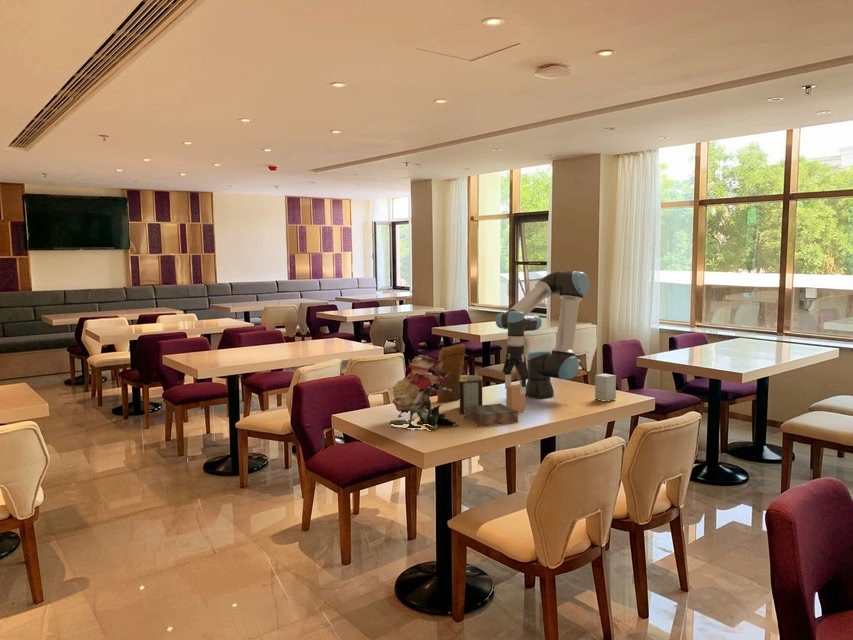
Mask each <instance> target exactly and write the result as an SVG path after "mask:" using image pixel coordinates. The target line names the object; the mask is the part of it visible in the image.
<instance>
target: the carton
mask: <svg viewBox="0 0 853 640" xmlns="http://www.w3.org/2000/svg"><path fill="white" fill-rule="evenodd" d="M505 390H506V393H505V394H506V400H505V401H506V404H505V406H507V407H510V408H512V409H514V410H517V411H518V412H521V413H525V412H526V396H525V394H520V383H519V384H511V385H507V386H506V389H505ZM524 411H525V412H524Z"/></svg>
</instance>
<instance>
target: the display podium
mask: <svg viewBox="0 0 853 640" xmlns="http://www.w3.org/2000/svg"><path fill="white" fill-rule="evenodd" d="M463 415H464V417H463V419H465V420H466V421H468V420H469V421H468V422H470V421H471V423H472V422H473V423H472V424H474V423H475V424H474V425H476V424H477V425H476V426H478V427H479V426H483V427H490V426H489V425H492V426H498V425H497V424H500V425H507V424H506V423H509V424H513V423H512V422H518V423H519V413H518V411H517V410H514V409H512V408H510V407H507V406H506V404H502V403H493V404H492V403H491V404H482V405H481V406H471V407H464V414H463Z"/></svg>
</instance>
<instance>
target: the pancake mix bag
mask: <svg viewBox="0 0 853 640" xmlns="http://www.w3.org/2000/svg"><path fill="white" fill-rule="evenodd" d="M438 354H439V355H438V359H437V360H438V361H441V362H442V363H443V364H442V368H440V370H441V371H442V372H450V374H448V375H447V377H445V379H444V381H443V382H442V383H441V384H443V385H440V386H438V387H445V388H449V389H451V390H452V391H447V390H440V391H437V401H436V403H442V402H444V403H448V402H447V401H450V402H453V401H452V400H455V401H460V400H459V399H460V382H459V381H460V376H461V375H463V370H464V365H465V354H466V344H464V343H460V344H454V345H451V346H445V347H441V348H440V350H439V353H438Z"/></svg>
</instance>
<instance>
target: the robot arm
mask: <svg viewBox="0 0 853 640" xmlns="http://www.w3.org/2000/svg"><path fill="white" fill-rule="evenodd" d="M589 290H590V280H589V277H588V275H587V274H586V273H585V272H583V271H579V270H578V271H577V270H574V271H573V270H571V271H570V270H569V271H568V270H565V271H561V270H559V271H558V270H557V271H554V272H550V273H549V274H547V275H545V276H543V277H542V278H541V279H540V280H538V281H537V282H536V283H535V285H534V287H533V289H531V290H530V291H528V293H526V295H524V296H523V297H522V298H521V299H520V300H519V301H517V302H516V303H515V304H514V305H513V306H512V307H511V308H510V309H508V310H507V312H505V313H504V312H499V313H498V314H496V317H495V325H496V327H497V328H499V329H504V330H507V339H506V340H507V348H506V349H507V350H506V351H507V353H506V355H505V361H504V365H503V368H502V373H503V374H504V375H505V376H504V377H505V378H504V380H505V381H504V383H505V384H504V386H505V387H504V389H505V390H506V386H507V385H512V371H513V369H514V367H515V368H516V371H517V372H518V375H519V384H520V394H525V397H527V396H528V397H527V398H531V397H533V398H532V399H548V398H547V397H550V398H553V397H554V396H555V394H554V393H555V391H554V388H553V385H552V382H551V378H554V379H560V380H571V379H573V378H574V377H575V376H576V375H577V373H578V371H579V367H580V362H579V359H578V358H577V356H576V352H575V350H574V345H575V343H574V342H575V337H576V336H575V335H576V330H577V321H578V313H579V306H580V302H581V301H583V299H584V296H586V295H587V294H588V292H589ZM553 295H559V297H558V298H560V300H561V305H560V310H559V319H558V325H557V332H556V333H557V334H556V341H555V347H554V348H552V349H551V350H548V349H547V350H546V349H544V350H536V351H535V350H533V351H530V352H528V353H527V359H526V357H525V356H524V357H523V356H522V355H523V354H524V353H525V346H524V345H525V332H530V331H531V332H535V331H538V330H539V329H540V328H541V327H542V319H541V316H539V315H538V314H535V313H534V314H530V313H531V312H532V311H533V310H534V309H535V308H536V307H538V305H540V304H541V302H542V301H544V300H545V299H549V298H550V297H551V296H553ZM526 361H527V362H526ZM552 396H553V397H552Z"/></svg>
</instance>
